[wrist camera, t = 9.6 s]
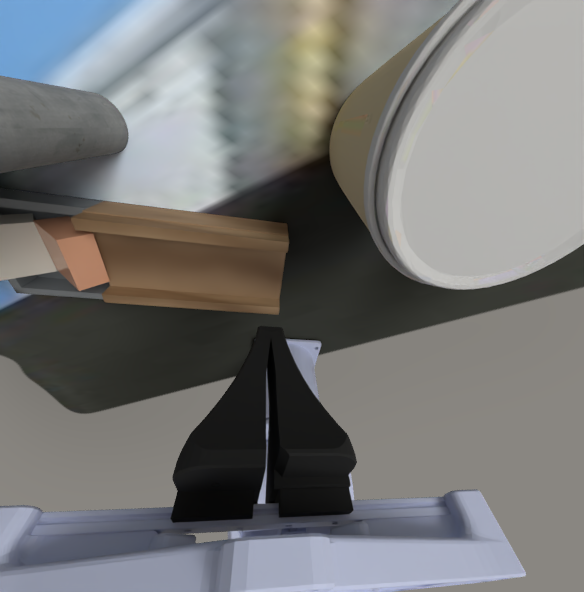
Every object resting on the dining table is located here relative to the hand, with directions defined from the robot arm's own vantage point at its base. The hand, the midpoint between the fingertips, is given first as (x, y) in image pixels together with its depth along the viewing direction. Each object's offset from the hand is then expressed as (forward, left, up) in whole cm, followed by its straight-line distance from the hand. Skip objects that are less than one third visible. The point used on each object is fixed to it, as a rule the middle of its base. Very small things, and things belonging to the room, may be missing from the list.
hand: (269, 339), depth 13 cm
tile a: (0, +14, -8) cm, 16 cm away
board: (0, +6, -10) cm, 12 cm away
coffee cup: (+10, -7, -10) cm, 16 cm away
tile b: (0, +19, -7) cm, 20 cm away
